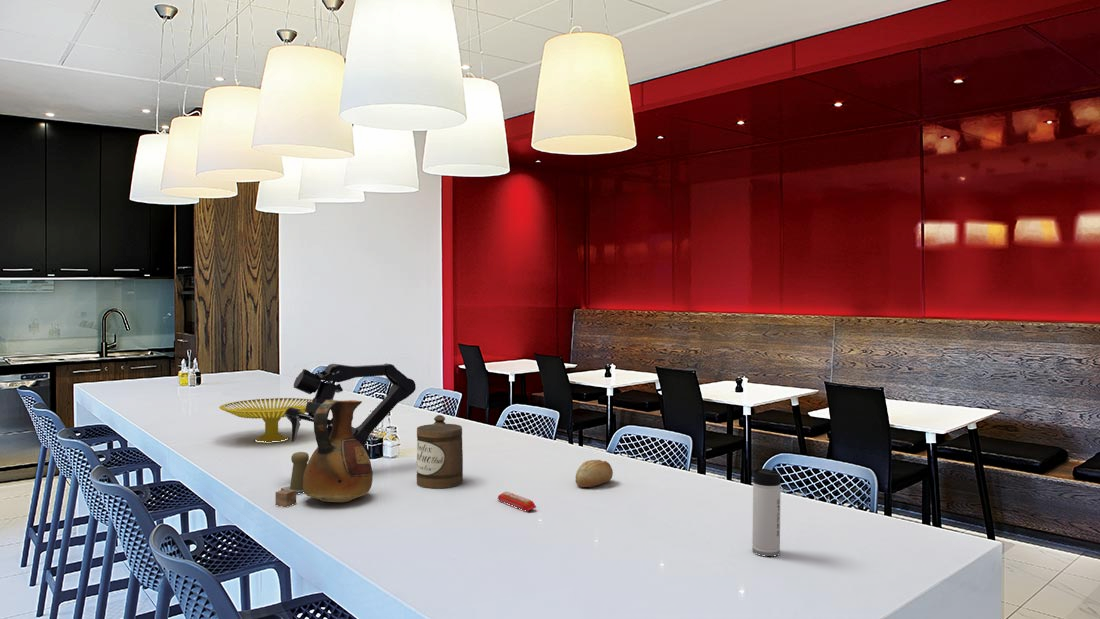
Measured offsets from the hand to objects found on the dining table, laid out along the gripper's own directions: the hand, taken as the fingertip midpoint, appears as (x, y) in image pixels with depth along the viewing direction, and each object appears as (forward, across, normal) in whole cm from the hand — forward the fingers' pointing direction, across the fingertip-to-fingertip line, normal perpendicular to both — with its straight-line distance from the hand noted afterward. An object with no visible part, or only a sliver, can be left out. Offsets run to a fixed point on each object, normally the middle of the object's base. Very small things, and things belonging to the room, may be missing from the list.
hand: (306, 444), depth 233 cm
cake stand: (-16, -35, +74) cm, 84 cm away
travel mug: (+15, +129, -59) cm, 142 cm away
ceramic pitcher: (+16, +17, -9) cm, 25 cm away
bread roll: (-8, +93, 0) cm, 93 cm away
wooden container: (+1, +44, +6) cm, 44 cm away
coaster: (+14, +3, +1) cm, 14 cm away
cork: (+14, +3, 0) cm, 14 cm away
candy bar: (+9, +69, -19) cm, 72 cm away
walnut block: (+21, +4, -13) cm, 25 cm away
